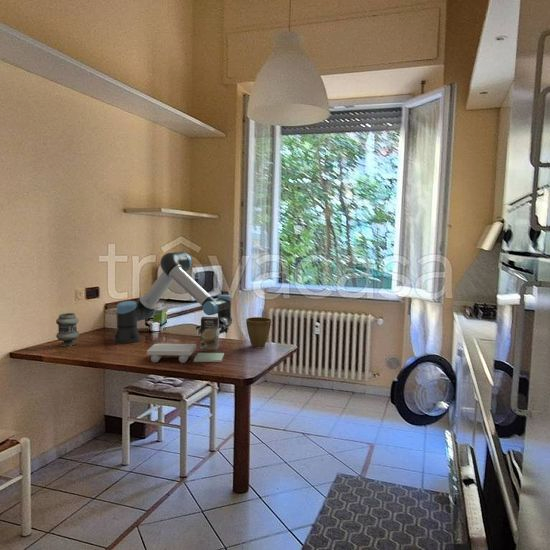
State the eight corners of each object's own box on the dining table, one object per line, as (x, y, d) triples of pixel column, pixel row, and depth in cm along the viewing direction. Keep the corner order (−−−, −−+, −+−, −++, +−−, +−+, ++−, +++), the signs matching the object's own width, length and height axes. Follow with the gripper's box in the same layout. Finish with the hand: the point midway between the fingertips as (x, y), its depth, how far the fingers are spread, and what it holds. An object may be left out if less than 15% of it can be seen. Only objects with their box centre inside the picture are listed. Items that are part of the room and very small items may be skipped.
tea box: (162, 331, 307) (162, 309, 305) (147, 331, 307) (147, 309, 306) (167, 327, 322) (167, 306, 320) (153, 327, 322) (153, 306, 321)
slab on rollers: (146, 362, 232) (146, 350, 231) (154, 354, 247) (154, 343, 247) (190, 363, 232) (190, 351, 231) (195, 355, 248) (195, 344, 247)
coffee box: (200, 349, 238) (200, 318, 237) (201, 346, 244) (201, 316, 243) (217, 349, 238) (217, 318, 237) (218, 346, 245) (219, 316, 243)
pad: (193, 361, 235) (193, 359, 235) (198, 354, 249) (198, 352, 249) (221, 361, 235) (221, 360, 235) (223, 354, 249) (223, 353, 249)
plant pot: (240, 346, 268) (240, 319, 267) (256, 342, 280) (256, 316, 279) (260, 350, 259) (260, 322, 258) (276, 346, 271) (276, 319, 270)
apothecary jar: (52, 346, 261) (51, 315, 259) (64, 342, 273) (63, 312, 271) (72, 347, 259) (71, 316, 258) (83, 343, 271) (82, 312, 270)
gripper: (238, 332, 257) (228, 340, 235) (200, 330, 260) (186, 338, 238) (239, 318, 256) (228, 326, 234) (200, 317, 260) (186, 324, 238)
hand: (207, 332), depth 236 cm, fingers closed on coffee box, 10 cm apart
